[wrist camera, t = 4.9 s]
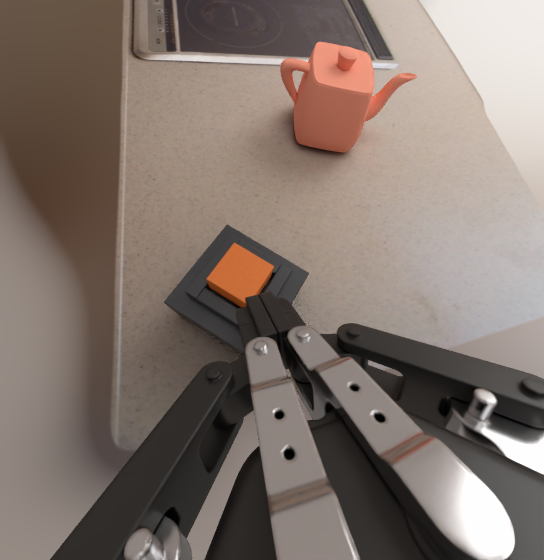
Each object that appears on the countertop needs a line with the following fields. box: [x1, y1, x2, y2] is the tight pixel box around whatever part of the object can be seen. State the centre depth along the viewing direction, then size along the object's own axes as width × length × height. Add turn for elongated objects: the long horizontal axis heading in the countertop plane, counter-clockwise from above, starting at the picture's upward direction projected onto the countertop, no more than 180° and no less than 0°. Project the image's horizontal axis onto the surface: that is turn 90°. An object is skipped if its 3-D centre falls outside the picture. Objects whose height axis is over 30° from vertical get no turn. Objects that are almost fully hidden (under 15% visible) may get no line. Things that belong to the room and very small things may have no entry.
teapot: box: [281, 42, 417, 152], centre depth 34 cm, size 12×18×10 cm, turn 85°
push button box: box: [164, 225, 309, 354], centre depth 24 cm, size 10×10×7 cm
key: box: [206, 243, 274, 308], centre depth 20 cm, size 4×4×2 cm
